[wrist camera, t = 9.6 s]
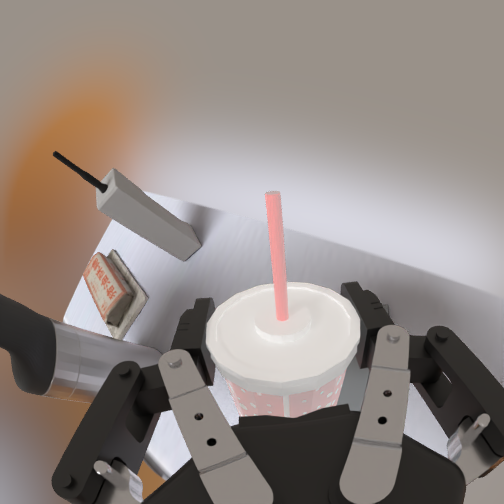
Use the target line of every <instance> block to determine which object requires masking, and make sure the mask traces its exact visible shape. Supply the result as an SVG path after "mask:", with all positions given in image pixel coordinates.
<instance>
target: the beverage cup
mask: <svg viewBox="0 0 504 504" xmlns="http://www.w3.org/2000/svg"><path fill="white" fill-rule="evenodd" d="M265 198H266V208H267V218H268V229H269V239H270V250H271V261H272V272H273V283H272V284H265V285H259V286H256V287H253V288H251V289H248V290H245V291H243V292H240V293H237V294H235V295H234V296H232V297H231V298H230V299H228V300H227V301H225V302H224V303H222V304H221V305H220V306H218V307H217V309H216V310H215V312H214V313H213V315H212V316H211V318H210V319H209V321H208V322H207V327H206V345H207V349H208V350H209V352H210V353H211V359H212V360H213V362H214V363H215V365H216V367H217V368H218V370H219V371H220V373H221V374H222V376H223V377H224V378H225V379H226V382H227V385H228V387H229V390H230V392H231V395H232V397H233V400H234V402H235V405H236V407H237V410H238V412H239V415H240V417H242V416H258V415H271V416H280V417H290V418H295V417H299V416H302V415H305V414H308V413H310V412H313V411H316V410H318V409H321V408H325V407H331V406H336V405H337V401H338V398H339V395H340V391H341V388H342V384H343V380H344V377H345V373H346V369H347V367H348V365H349V364H350V362H351V361H352V359H353V357H354V356H355V354H356V353H357V345H358V344H359V341H360V318H359V316H358V314H357V312H356V310H355V308H354V307H353V305H352V304H351V302H350V301H349V300H348V299H346V298H344V297H343V296H341V295H340V294H338V293H336V292H335V291H333V290H332V289H329V288H325V287H322V286H318V285H314V284H311V283H300V282H287V278H286V263H285V248H284V234H283V221H282V209H281V197H280V192H279V191H270V192H266V193H265Z"/></svg>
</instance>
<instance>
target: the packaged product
mask: <svg viewBox="0 0 504 504" xmlns="http://www.w3.org/2000/svg"><path fill="white" fill-rule="evenodd" d="M83 276H84V279H85V281H86V284H87V286H88V289H89V291H90V293H91V295H92V298H93V300H94V302H95V304H96V306H97V308H98V310H99V312H100V314H101V317H102V319H103V320H104V322H105V323H106V325H107V327H108V329H109V331H110V333H111V335H112V336H113V338H115V339H119V340H122V339H123V338H124V336H125V334H126V333H127V331H128V330H129V328H130V327H131V325H132V324H133V322H134V321H135V319H136V317H137V316H138V314H139V313H140V311H141V310H142V308H143V307H144V305H145V304H146V302H147V300H148V297H147V296H146V294H145V293H144V291H143V290H142V289H141V288H140V286H139V285H138V284H137V283H136V281H135V280H134V278H133V277H132V275H131V274H130V272H129V270H128V269H127V267H126V266H125V265H124V264H123V263H122V261H121V259H120V258H119V256H118V255H117V254H116V252H115V251H114V250H113V249H112V250H111V252H110V253H109V255H108V256H107V257H106V256H105V255H103V254H102V253H100V252H98V253H97V254H95V255H94V256H93V257H92V259H91V260H90V263H89V264H88V266H87V267H86V269H85V271H84V273H83Z"/></svg>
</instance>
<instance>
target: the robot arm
mask: <svg viewBox="0 0 504 504" xmlns="http://www.w3.org/2000/svg"><path fill="white" fill-rule="evenodd" d="M341 296H343V297H344V298H346V299H348V300H349V301H350V302H351V304H352V305H353V307H354V308H355V310H356V312H357V314H358V316H359V318H360V341H359V344H358V345H357V353H356V354H355V357H356V360H357V362H358V365H359V367H360V369H363V368H368V369H369V371H370V372H369V376H368V380H367V384H366V389H365V393H364V397H363V401H362V405H361V408H360V411H351V410H350V408H349V405H348V403H347V404H342V405H337V406H331V407H325V408H321V409H318V410H316V411H313V412H310V413H308V414H305V415H302V416H299V417H295V418H290V417H280V416H271V415H258V416H242V417H239V424H237V425H234V426H231V427H230V425H229V424H228V422H227V420H226V419H225V417H224V415H223V413H222V412H221V410H220V408H219V406H218V404H217V403H216V401H215V399H214V397H213V395H212V394H211V392H210V390H209V388H208V386H213V382H214V374H215V363H214V362H213V360H212V359H211V353H210V352H209V350H208V349H207V345H206V327H207V322H208V321H209V319H210V318H211V316H212V315H213V313H214V312H215V306H214V302H213V299H212V298H199V299H196V302H195V305H194V309H189V310H186V311H185V312H184V313H183V315H182V316H181V317H180V321H179V325H178V327H177V331H176V333H175V336H174V340H173V343H172V346H171V349H170V351H168V352H166V353H165V354H163V355H162V354H161V353H160V352H159V351H158V350H156V349H154V348H151V347H147V346H142V345H138V344H134V343H131V342H127V341H123V340H119V339H115V338H112V337H108V336H105V335H101V334H98V333H94V332H91V331H88V330H84V329H81V328H78V327H75V326H72V325H68V324H65V323H62V322H59V321H56V320H53V319H51V318H48V317H45V316H43V315H40V314H38V313H36V312H34V311H33V310H31V309H29V308H28V307H26V306H24V305H22V304H20V303H18V302H16V301H14V300H12V299H10V298H7V297H5V296H3V295H1V294H0V347H1V348H3V349H5V350H7V351H8V352H9V353H10V356H11V364H12V370H13V375H14V379H15V382H16V384H17V386H18V387H19V388H20V389H21V390H23V391H25V392H27V393H31V394H36V395H41V396H46V397H52V398H57V399H65V400H71V401H79V402H87V403H92V404H91V406H90V407H89V409H88V411H87V412H86V414H85V416H84V418H83V419H82V421H81V423H80V425H79V427H78V428H77V430H76V432H75V434H74V436H73V437H72V439H71V441H70V443H69V445H68V447H67V449H66V450H65V452H64V454H63V456H62V458H61V460H60V462H59V464H58V466H57V468H56V470H55V472H54V474H53V476H52V487H53V489H54V491H55V492H56V493H57V494H58V495H59V496H60V497H62V498H63V499H65V500H67V501H69V502H70V503H71V504H463V502H464V497H465V492H466V486H467V485H468V484H470V483H471V482H472V481H474V480H475V479H476V478H481V477H484V476H486V475H487V474H488V473H490V472H491V471H492V470H493V469H494V468H496V467H497V466H498V465H499V464H500V463H502V462H503V461H504V388H503V387H502V386H501V384H500V383H499V382H498V381H497V380H496V379H495V377H494V376H493V375H492V374H491V373H490V372H489V370H488V369H487V368H486V367H485V366H484V365H483V364H482V362H481V361H480V360H479V359H478V358H477V357H476V356H475V355H474V354H473V353H472V351H471V350H470V349H469V348H468V347H467V346H466V345H465V344H464V343H463V342H462V341H461V340H460V339H459V338H458V336H457V335H456V334H455V333H454V332H453V331H452V330H450V329H449V328H447V327H443V326H435V327H432V328H430V329H429V330H428V332H427V335H426V336H411V335H409V333H408V332H407V331H406V330H405V329H404V328H403V327H400V326H397V325H394V323H393V321H392V320H391V318H390V317H389V315H388V313H387V312H386V310H385V309H384V308H383V306H382V304H381V303H380V301H379V299H378V298H377V296H376V295H375V294H373V293H372V292H371V291H369V290H364V291H363V290H362V288H361V287H360V285H359V283H358V282H357V281H356V282H348V283H342V285H341ZM443 372H444V373H445V374H446V376H447V377H448V378H449V379H450V381H451V383H452V384H451V383H450V381H449V380H448V379H447V377H446V376H445V375H444V374H443ZM410 383H413V385H414V386H415V387H416V389H417V390H418V392H419V393H420V395H421V396H422V398H423V399H424V401H425V402H426V404H427V405H428V407H429V409H430V410H431V412H432V413H433V415H434V416H435V418H436V419H437V421H438V422H439V424H440V426H441V427H442V429H443V430H444V432H445V433H446V435H447V437H448V438H449V440H448V443H447V451H448V458H449V459H448V458H446V457H444V456H442V455H440V454H438V453H437V452H435V451H433V450H431V449H430V448H428V447H426V446H424V445H422V444H421V443H419V442H417V441H416V440H414V439H412V438H410V437H409V436H407V435H405V434H404V433H403V431H404V425H405V418H406V411H407V403H408V394H409V384H410ZM169 410H173V413H174V415H175V418H176V420H177V423H178V425H179V428H180V430H181V433H182V435H183V438H184V440H185V442H186V445H187V447H188V449H189V451H190V454H191V456H192V458H191V459H190V460H189V461H188V462H186V463H185V464H184V465H183V466H182V467H181V468H180V469H179V470H178V471H177V472H176V473H175V474H173V475H172V476H171V477H170V478H169V479H168V480H167V481H166V482H165V483H163V484H162V485H161V486H160V487H159V488H158V489H157V490H155V491H154V492H153V493H152V494H150V495H149V496H148V497H147V498H146V499H144V500H143V499H142V489H143V485H142V482H141V480H140V478H139V477H138V476H137V474H138V471H139V469H140V466H141V463H142V461H143V458H144V456H145V453H146V450H147V448H148V445H149V443H150V440H151V438H152V435H153V432H154V430H155V427H156V425H157V422H158V420H159V417H160V415H161V412H164V411H169Z"/></svg>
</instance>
